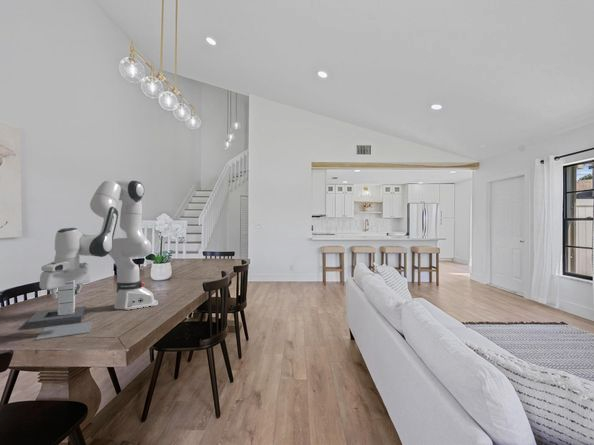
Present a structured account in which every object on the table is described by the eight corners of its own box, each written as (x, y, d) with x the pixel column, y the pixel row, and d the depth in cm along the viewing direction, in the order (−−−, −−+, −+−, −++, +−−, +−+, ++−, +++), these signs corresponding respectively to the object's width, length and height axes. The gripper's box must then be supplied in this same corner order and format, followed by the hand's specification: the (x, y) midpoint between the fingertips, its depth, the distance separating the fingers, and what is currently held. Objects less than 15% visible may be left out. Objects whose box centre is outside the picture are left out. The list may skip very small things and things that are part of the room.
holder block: (85, 311, 164) (85, 306, 164) (80, 322, 146) (80, 316, 146) (37, 317, 154) (37, 311, 154) (26, 329, 136) (26, 322, 136)
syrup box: (74, 313, 134) (75, 280, 134) (57, 315, 130) (58, 281, 131) (74, 310, 138) (75, 278, 139) (58, 312, 135) (59, 279, 136)
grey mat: (92, 322, 146) (92, 321, 146) (89, 332, 132) (89, 332, 132) (44, 328, 137) (44, 327, 137) (35, 340, 123) (35, 339, 123)
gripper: (83, 261, 146) (83, 291, 145) (37, 267, 126) (36, 301, 126) (94, 262, 144) (93, 291, 144) (48, 268, 124) (47, 302, 124)
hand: (66, 296), depth 135 cm, fingers closed on syrup box, 8 cm apart
